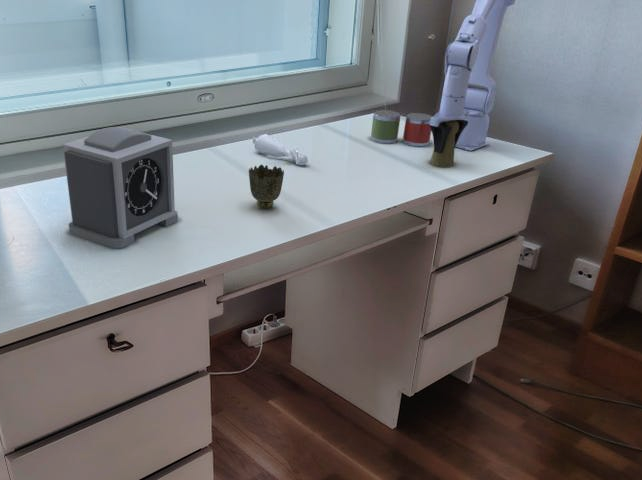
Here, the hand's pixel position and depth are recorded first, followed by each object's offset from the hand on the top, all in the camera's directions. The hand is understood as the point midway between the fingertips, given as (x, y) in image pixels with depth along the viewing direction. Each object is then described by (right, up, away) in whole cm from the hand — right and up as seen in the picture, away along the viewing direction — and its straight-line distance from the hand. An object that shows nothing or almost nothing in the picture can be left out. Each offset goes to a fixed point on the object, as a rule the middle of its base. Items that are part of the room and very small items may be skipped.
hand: (444, 150), depth 176 cm
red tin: (-4, +7, +17) cm, 19 cm away
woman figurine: (-42, -2, 0) cm, 42 cm away
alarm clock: (-73, -27, -40) cm, 88 cm away
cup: (-46, -21, -29) cm, 58 cm away
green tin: (-13, +9, +18) cm, 23 cm away
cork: (0, -3, +2) cm, 4 cm away
